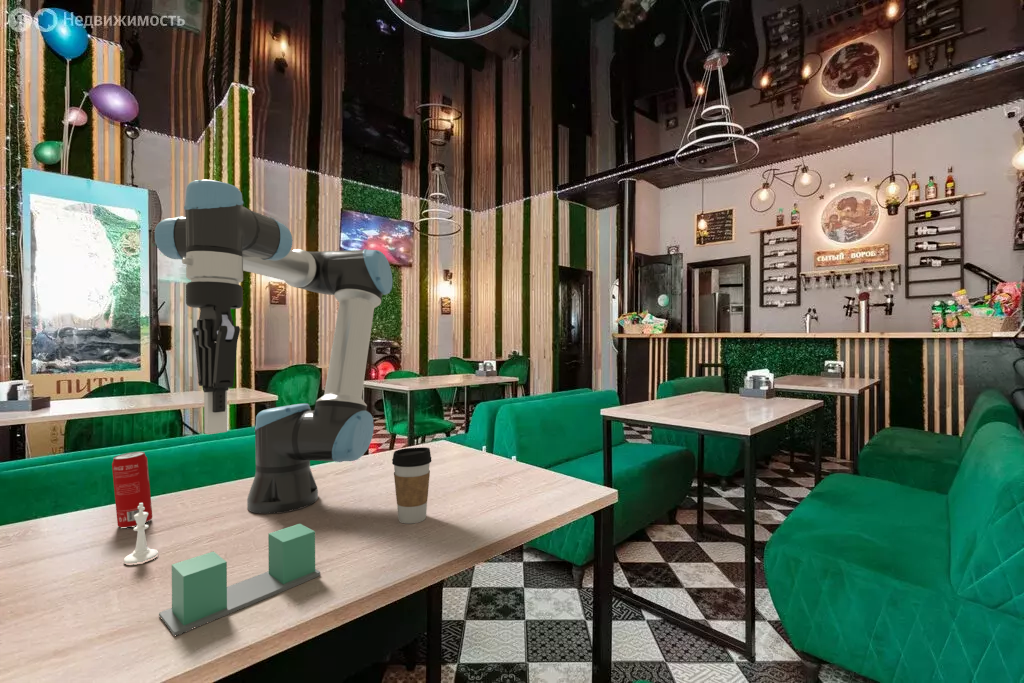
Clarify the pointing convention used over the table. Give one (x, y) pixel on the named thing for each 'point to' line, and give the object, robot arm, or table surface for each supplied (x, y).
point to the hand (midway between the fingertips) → (215, 432)
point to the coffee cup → (411, 483)
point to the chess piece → (141, 540)
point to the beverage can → (131, 487)
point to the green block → (199, 587)
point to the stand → (265, 575)
